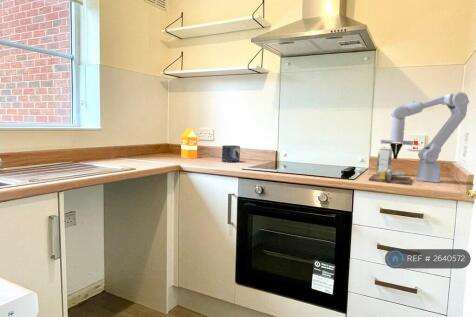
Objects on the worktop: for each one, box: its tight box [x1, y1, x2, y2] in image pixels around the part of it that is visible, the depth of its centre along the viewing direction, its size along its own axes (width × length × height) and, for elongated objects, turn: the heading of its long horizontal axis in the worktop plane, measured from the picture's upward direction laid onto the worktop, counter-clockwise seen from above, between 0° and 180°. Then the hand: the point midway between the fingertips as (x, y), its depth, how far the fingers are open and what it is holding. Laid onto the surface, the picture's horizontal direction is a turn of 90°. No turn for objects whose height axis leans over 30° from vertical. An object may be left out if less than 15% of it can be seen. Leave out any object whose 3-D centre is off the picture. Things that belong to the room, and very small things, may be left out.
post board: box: [368, 171, 412, 186], centre depth 156 cm, size 17×20×5 cm
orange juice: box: [180, 128, 198, 159], centre depth 225 cm, size 8×9×20 cm
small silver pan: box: [376, 168, 406, 179], centre depth 154 cm, size 16×12×4 cm
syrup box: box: [375, 146, 393, 174], centre depth 177 cm, size 6×6×14 cm
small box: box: [221, 144, 241, 163], centre depth 209 cm, size 11×6×10 cm, turn 131°
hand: (395, 158), depth 161 cm, fingers closed
